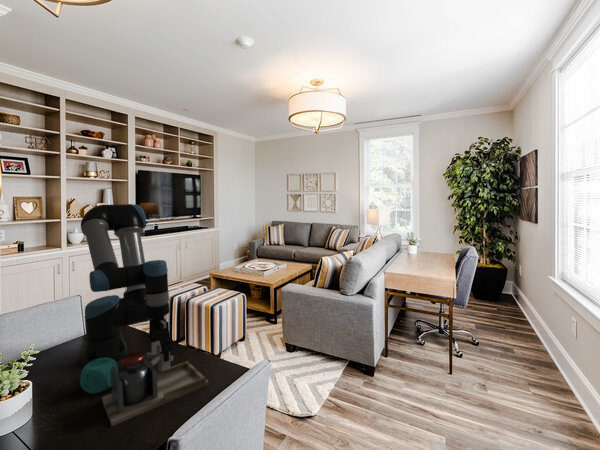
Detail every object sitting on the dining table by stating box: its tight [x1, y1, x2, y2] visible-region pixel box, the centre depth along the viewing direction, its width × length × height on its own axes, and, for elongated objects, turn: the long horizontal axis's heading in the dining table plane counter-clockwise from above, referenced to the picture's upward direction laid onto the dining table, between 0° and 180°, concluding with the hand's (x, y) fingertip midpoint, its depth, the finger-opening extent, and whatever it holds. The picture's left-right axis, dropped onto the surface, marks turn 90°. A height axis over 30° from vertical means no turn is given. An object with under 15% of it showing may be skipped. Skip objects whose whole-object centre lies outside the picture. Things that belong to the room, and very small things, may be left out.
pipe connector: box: [145, 343, 175, 372], centre depth 110 cm, size 10×10×10 cm
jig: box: [101, 360, 210, 427], centre depth 97 cm, size 15×28×3 cm, turn 132°
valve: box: [110, 351, 158, 414], centre depth 93 cm, size 10×10×14 cm
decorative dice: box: [79, 358, 119, 394], centre depth 101 cm, size 8×8×8 cm
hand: (161, 364), depth 109 cm, fingers open, 10 cm apart
